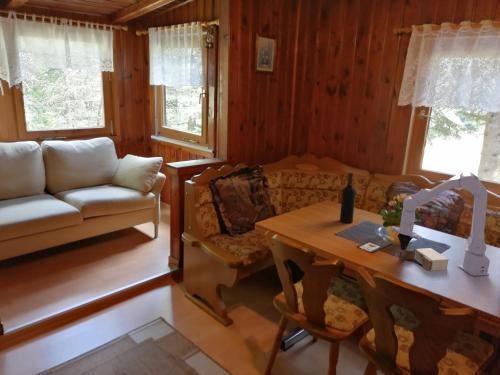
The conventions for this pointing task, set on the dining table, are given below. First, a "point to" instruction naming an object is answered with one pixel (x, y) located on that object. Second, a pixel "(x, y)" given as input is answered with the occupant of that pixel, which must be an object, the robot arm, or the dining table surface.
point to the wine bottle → (348, 202)
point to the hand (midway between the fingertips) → (403, 249)
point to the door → (407, 254)
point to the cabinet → (431, 259)
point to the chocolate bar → (374, 245)
